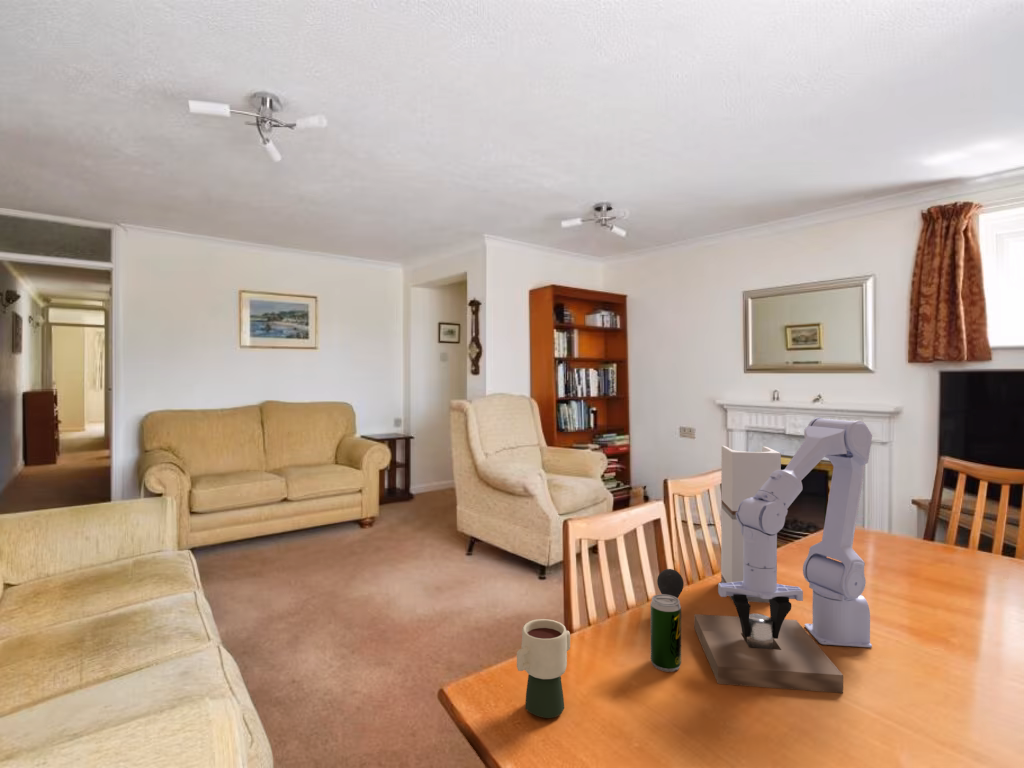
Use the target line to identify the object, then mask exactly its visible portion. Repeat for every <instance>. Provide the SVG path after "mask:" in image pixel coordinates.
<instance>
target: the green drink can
mask: <svg viewBox="0 0 1024 768" xmlns="http://www.w3.org/2000/svg"><path fill="white" fill-rule="evenodd" d="M680 602H681V601H680V599H679V597H678V598H676V597H674V596H671V595H666V594H660V593H659V594H655V595H653V596H651V602H650V661H651V664H652V666H653V667H654V668H655V669H657V670H658V671H662V672H666V673H671V672H677V671H678V670H679V669H680V666H681V664H682V605H681V603H680Z"/></svg>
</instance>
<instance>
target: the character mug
mask: <svg viewBox="0 0 1024 768" xmlns="http://www.w3.org/2000/svg"><path fill="white" fill-rule="evenodd" d="M521 636H522V637H521V638H522V639H521V646H520V647H521V648H520V649H518V650H517V651H516V668H517V671H518V672H523V671H525V672H526V673H527V674H528V677H527V682H526V683H527V685H526V689H525V691H526V692H525V702H524V703H525V704H524V705H525V706H524V708H525V710H527V712H529V713H531V715H534V716H536V717H541V718H545V719H552V718H557V717H558V716H560V715H561V714H562V713H563V711H564V709H565V697H564V692H563V683H562V677H561V676H562V675H564V674H565V673H566V670H567V666H568V661H567V660H568V653H567V652H568V651H569V650H570V648H571V633H570V631H569V630H567V628H566V626H565V625H564V624H563V623H562V622H560V621H556V620H553V619H548V618H546V619H545V618H542V619H541V618H539V619H538V618H537V619H533V620H529V621H527V622H526V623H525V624H524V625H523V626H522V630H521Z"/></svg>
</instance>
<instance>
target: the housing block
mask: <svg viewBox="0 0 1024 768" xmlns="http://www.w3.org/2000/svg"><path fill="white" fill-rule="evenodd" d="M693 629H694V631H695V633H696V635H697V638H698V641H699V642H700V645H701V647H702V649H703V652H704V654H705V656H706V659H707V662H708V663H709V666H710V669H711V670H712V672H713V675H714V677H715V680H716V682H717V684H719V685H731V686H744V687H745V686H746V687H759V688H770V689H771V688H773V689H782V690H783V689H785V690H799V691H810V692H811V691H813V692H823V693H824V692H826V693H836V694H837V693H838V694H839V693H841V694H843V693H844V674H843V673H842V672H841V670H839V669H838V667H837V666H836V665H835V664H834V662H833V661H832V660H831V659H830V658H829V656H828V655H827V654H826V653H825V652H824V650H823V649H821V648H820V646H819V645H818V644H817V643H816V642H815V640H814V639H813V638H812V637H811V635H810V634H809V633H808V632H807V631H806V630H805V628H804V627H803V626H802V625H801V624H800V623H799V621H798V620H797V619H786V618H785V619H784V621H783V623H782V626H781V628H780V632H779V635H778V639H774V638H773V649H760V648H749V647H748V645H747V637H745V636H744V634H743V633H742V628H741V622H740V619H739V616H732V615H716V614H715V615H713V614H700V613H699V614H697V613H695V614H694V628H693Z"/></svg>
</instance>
